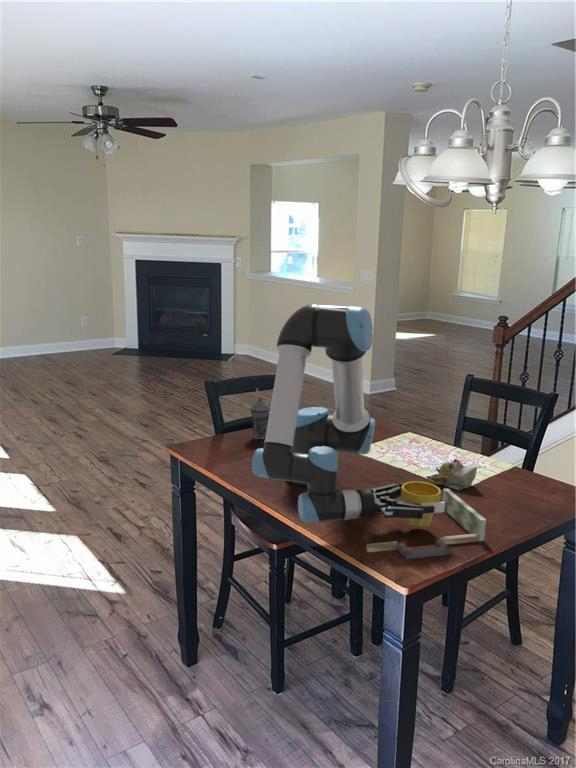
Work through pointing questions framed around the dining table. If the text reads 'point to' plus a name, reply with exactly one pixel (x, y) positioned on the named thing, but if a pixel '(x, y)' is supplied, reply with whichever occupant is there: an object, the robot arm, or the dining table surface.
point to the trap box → (457, 511)
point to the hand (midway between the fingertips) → (434, 498)
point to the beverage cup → (259, 417)
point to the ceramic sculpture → (454, 474)
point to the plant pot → (420, 499)
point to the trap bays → (423, 548)
